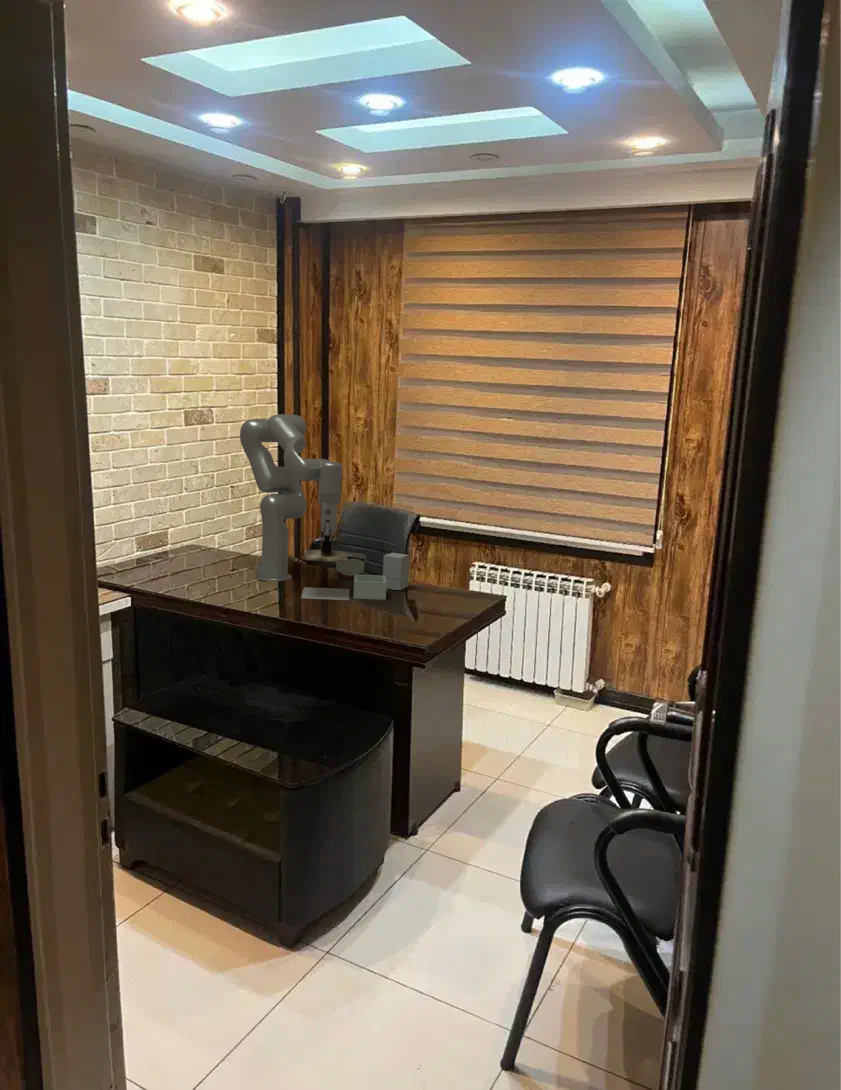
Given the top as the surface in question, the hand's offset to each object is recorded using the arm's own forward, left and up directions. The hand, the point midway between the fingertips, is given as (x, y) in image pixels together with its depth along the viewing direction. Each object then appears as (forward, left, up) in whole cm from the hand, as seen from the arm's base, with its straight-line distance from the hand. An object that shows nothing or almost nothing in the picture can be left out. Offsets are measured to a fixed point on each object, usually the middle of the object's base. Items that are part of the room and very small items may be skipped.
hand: (326, 550), depth 280 cm
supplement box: (+13, +25, -16) cm, 32 cm away
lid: (0, 0, -2) cm, 2 cm away
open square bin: (+13, +8, -16) cm, 22 cm away
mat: (0, 0, -16) cm, 16 cm away
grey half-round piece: (-7, +26, -16) cm, 31 cm away
